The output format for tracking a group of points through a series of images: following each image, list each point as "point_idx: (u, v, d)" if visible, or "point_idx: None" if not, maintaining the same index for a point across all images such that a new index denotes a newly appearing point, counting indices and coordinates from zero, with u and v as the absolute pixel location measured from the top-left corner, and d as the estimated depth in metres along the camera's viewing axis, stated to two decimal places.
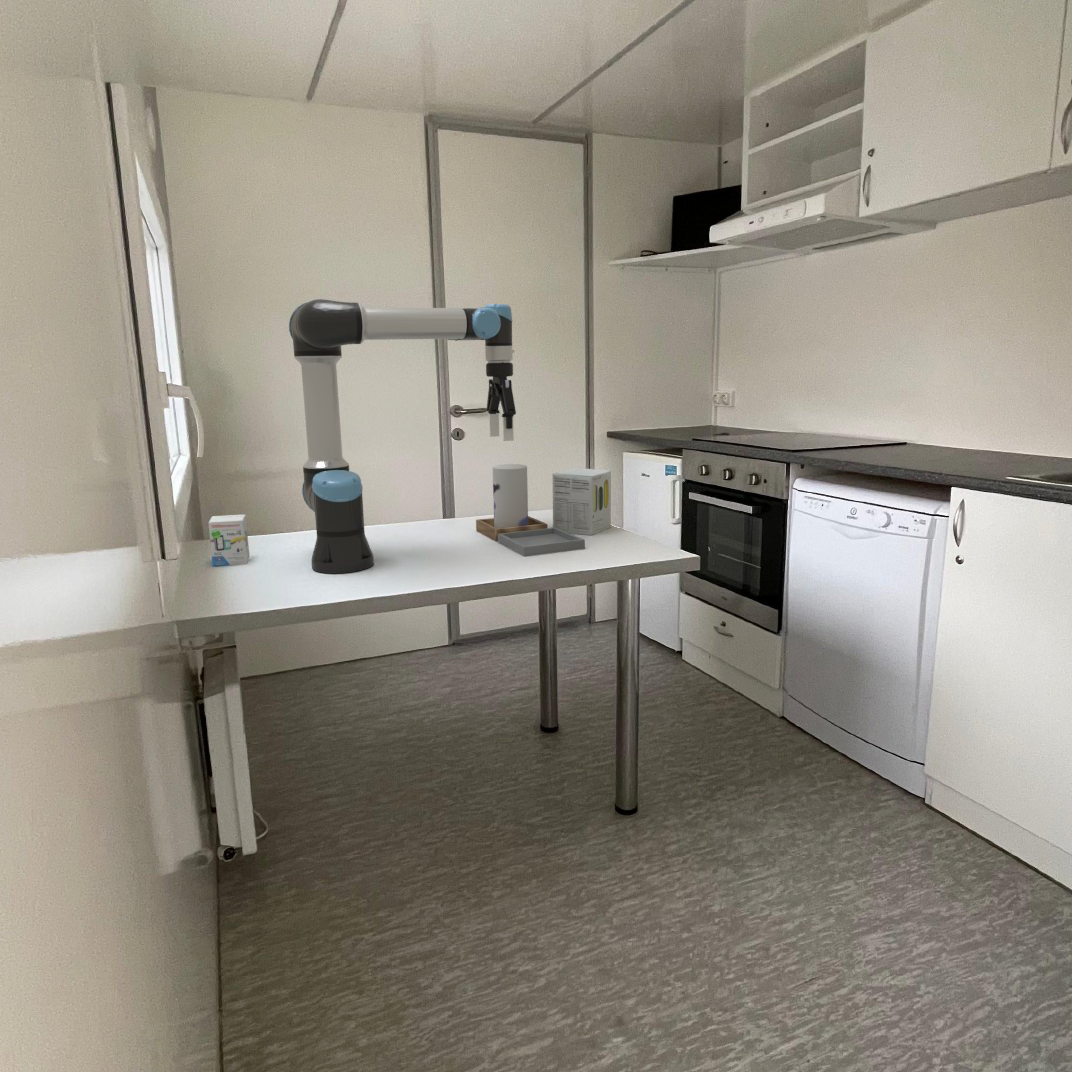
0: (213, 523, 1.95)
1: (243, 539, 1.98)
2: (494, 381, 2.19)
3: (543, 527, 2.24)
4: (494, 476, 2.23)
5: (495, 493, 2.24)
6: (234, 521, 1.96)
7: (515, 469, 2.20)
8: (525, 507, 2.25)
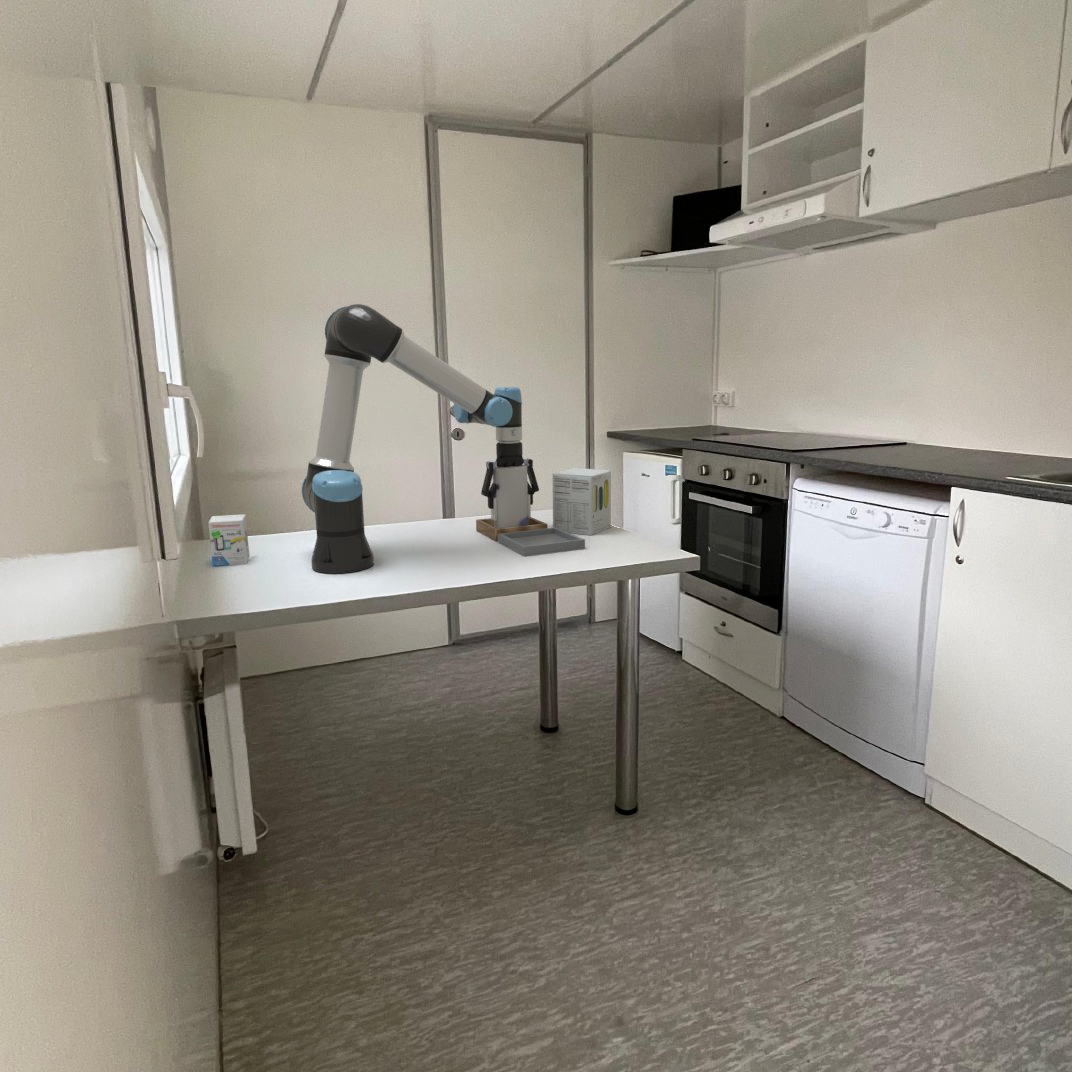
0: (213, 523, 1.95)
1: (243, 539, 1.98)
2: None
3: (543, 527, 2.24)
4: (494, 476, 2.23)
5: (495, 493, 2.24)
6: (234, 521, 1.96)
7: (515, 469, 2.20)
8: (525, 507, 2.25)
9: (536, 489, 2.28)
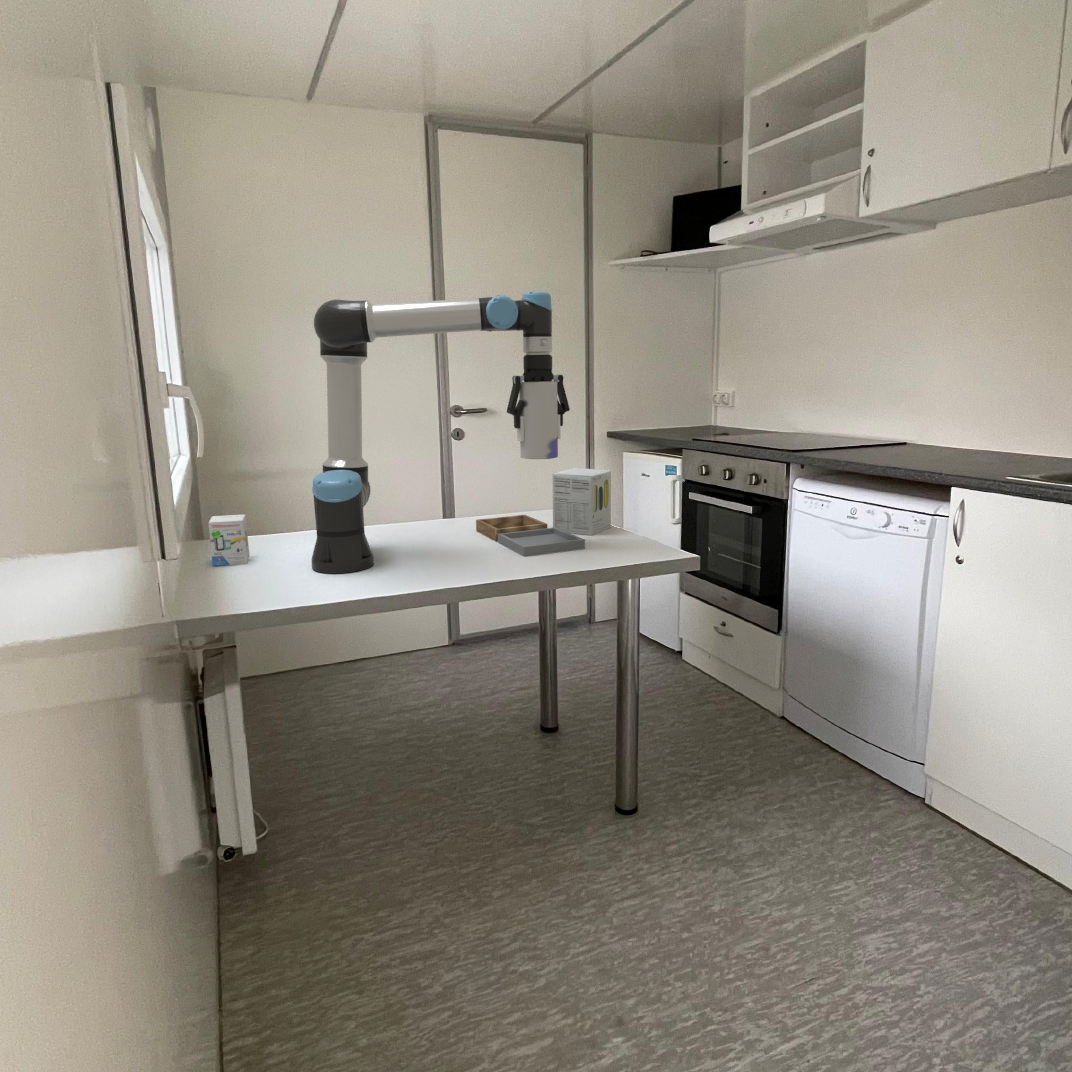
0: (213, 523, 1.95)
1: (243, 539, 1.98)
2: None
3: (543, 527, 2.24)
4: (521, 392, 2.02)
5: (522, 411, 2.03)
6: (234, 521, 1.96)
7: (545, 383, 1.99)
8: (555, 427, 2.04)
9: (566, 408, 2.08)
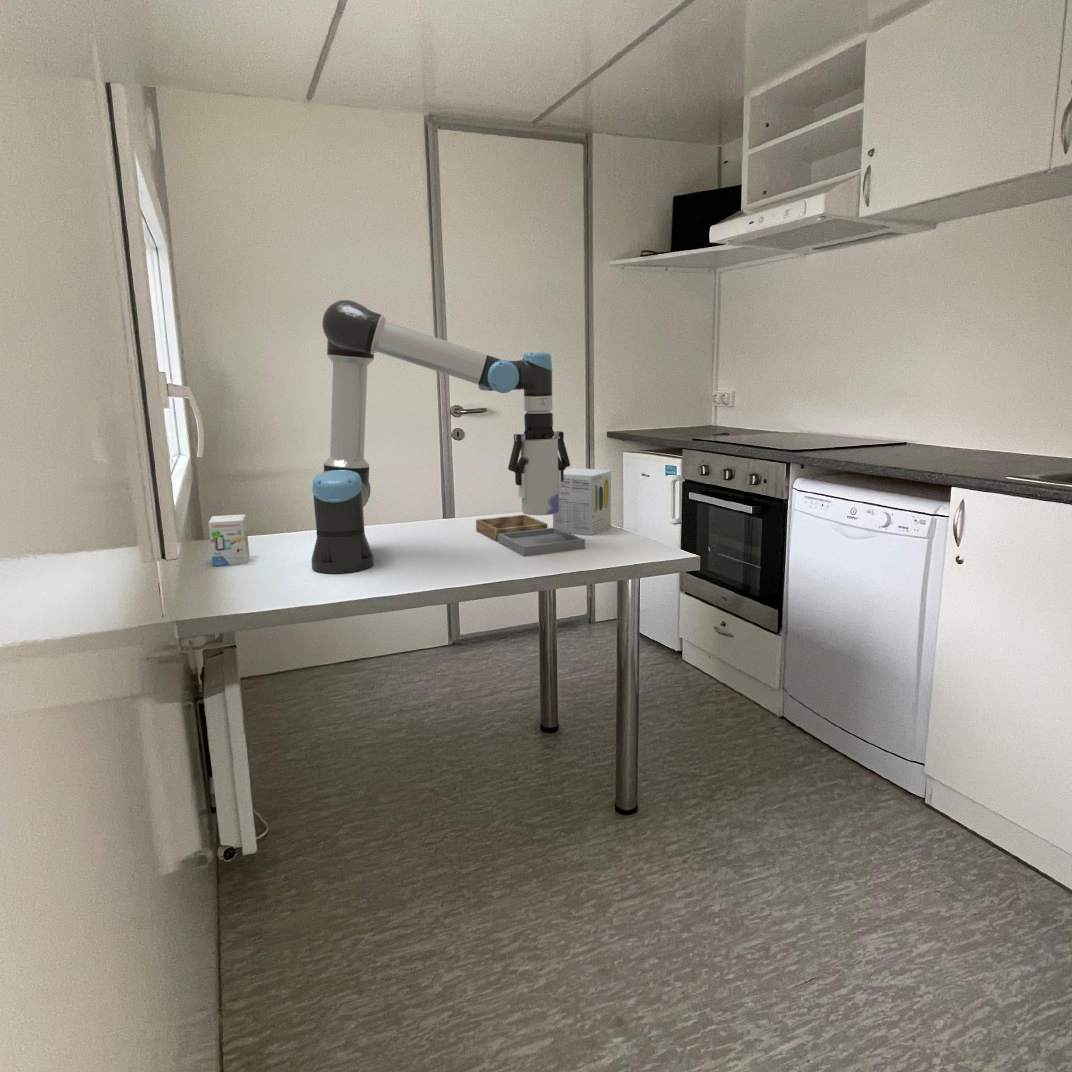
0: (213, 523, 1.95)
1: (243, 539, 1.98)
2: None
3: (543, 527, 2.24)
4: (522, 449, 2.05)
5: None
6: (234, 521, 1.96)
7: (545, 441, 2.03)
8: (556, 483, 2.07)
9: (567, 464, 2.11)
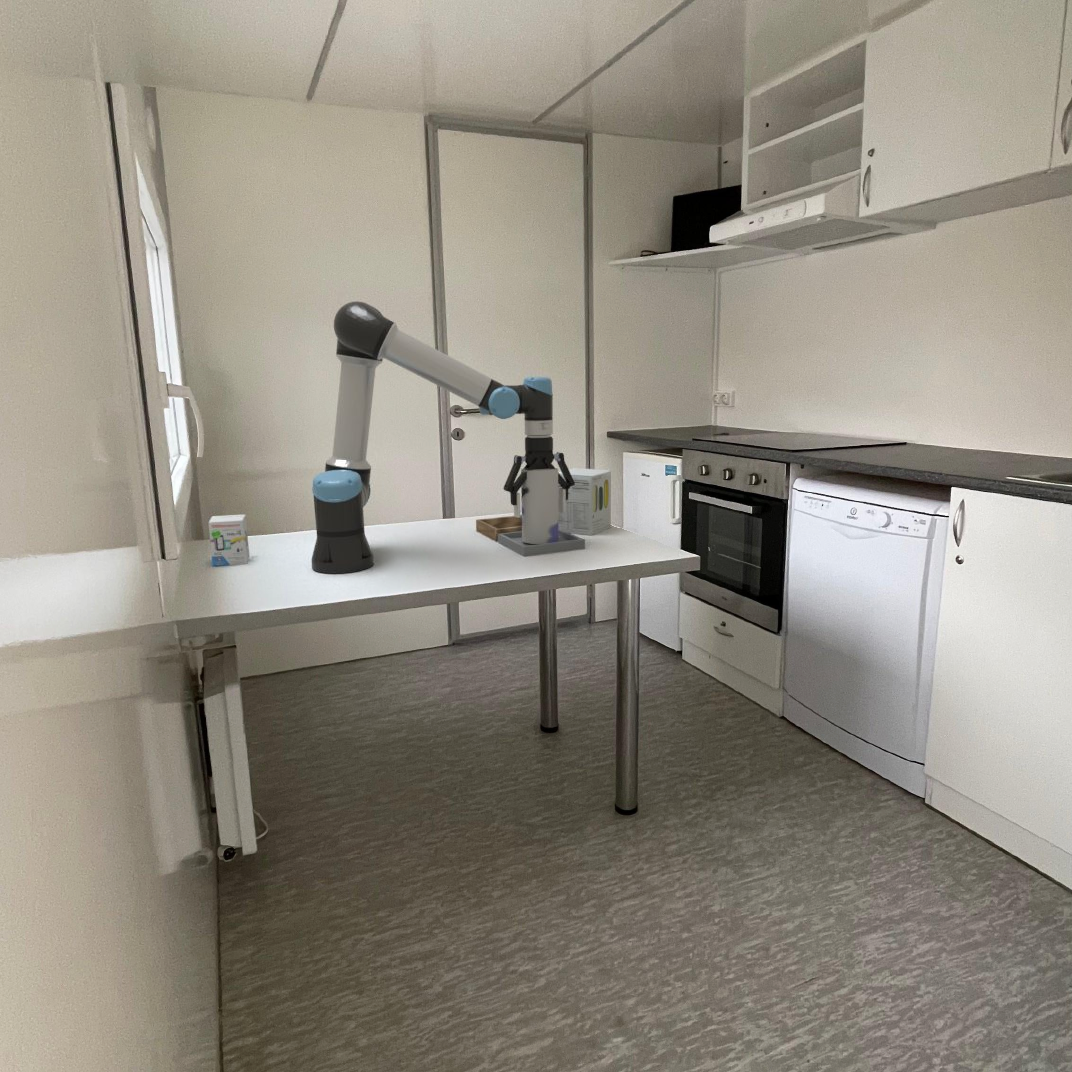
0: (213, 523, 1.95)
1: (243, 539, 1.98)
2: None
3: None
4: None
5: (524, 497, 2.08)
6: (234, 521, 1.96)
7: (546, 471, 2.05)
8: (556, 512, 2.09)
9: (572, 483, 2.13)
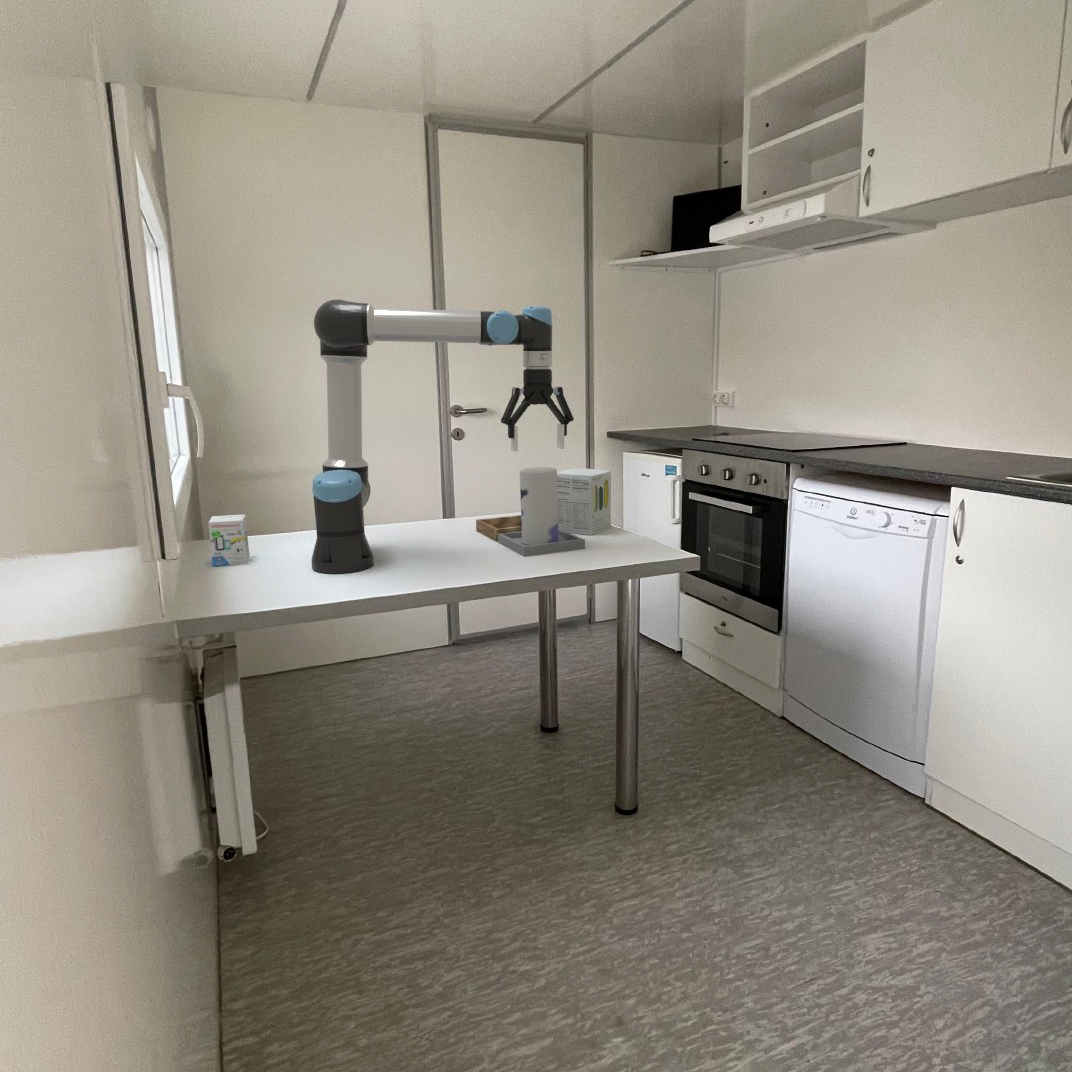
0: (213, 523, 1.95)
1: (243, 539, 1.98)
2: None
3: None
4: (521, 481, 2.07)
5: (523, 499, 2.08)
6: (234, 521, 1.96)
7: (544, 473, 2.04)
8: (555, 513, 2.09)
9: (570, 419, 2.09)
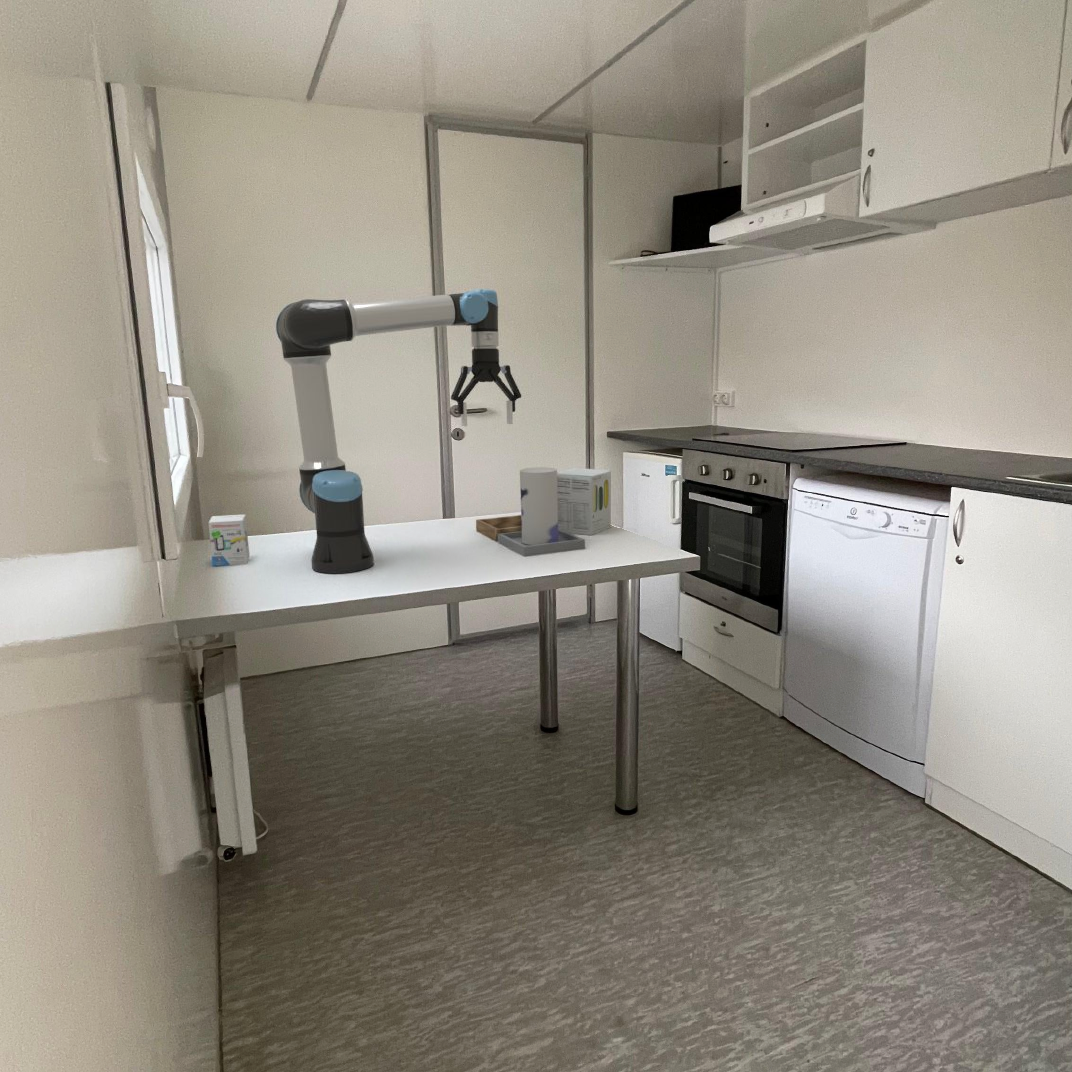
0: (213, 523, 1.95)
1: (243, 539, 1.98)
2: None
3: None
4: (522, 480, 2.07)
5: (523, 499, 2.08)
6: (234, 521, 1.96)
7: (544, 473, 2.05)
8: (555, 513, 2.09)
9: (518, 395, 2.21)
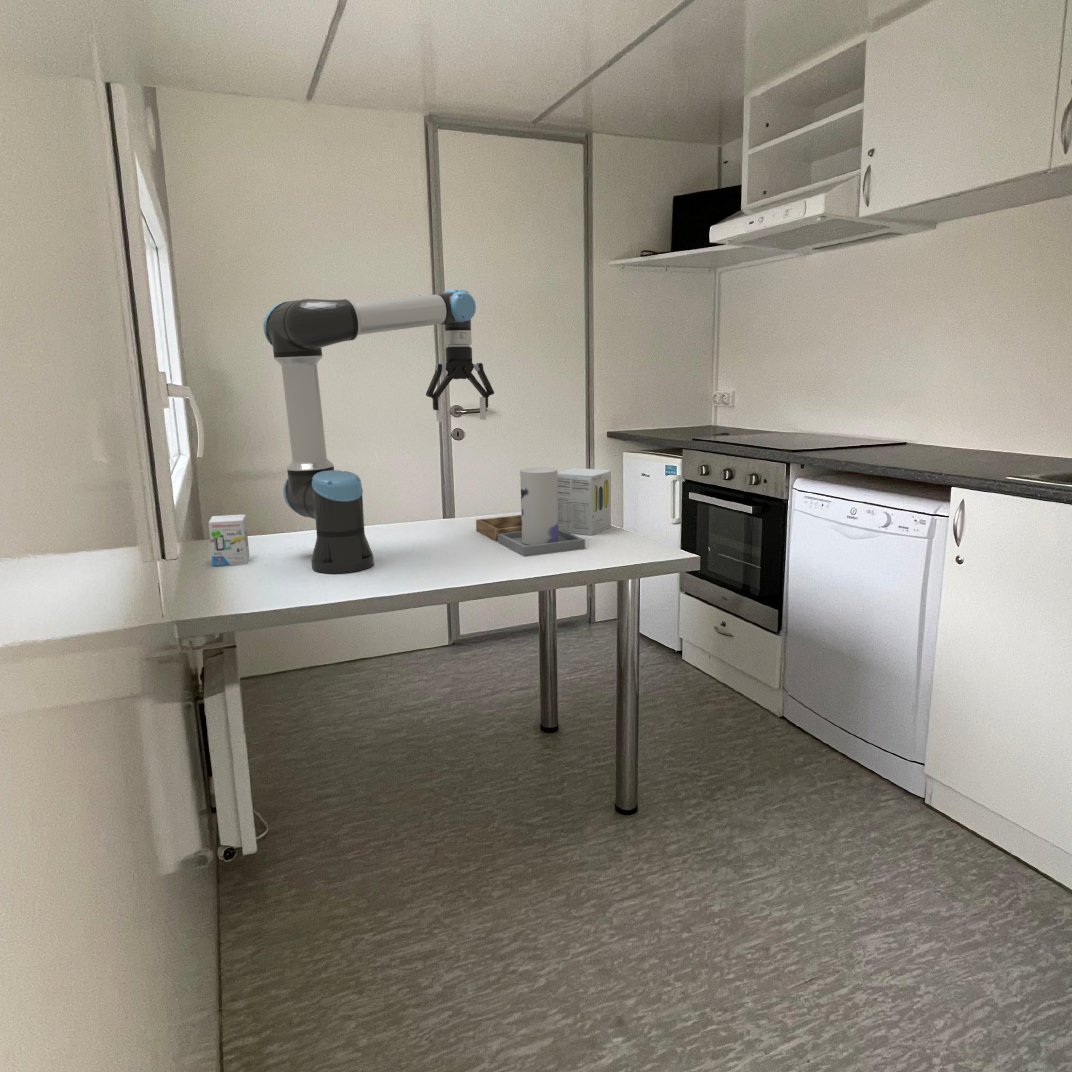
0: (213, 523, 1.95)
1: (243, 539, 1.98)
2: None
3: None
4: (522, 480, 2.07)
5: (523, 499, 2.08)
6: (234, 521, 1.96)
7: (545, 473, 2.05)
8: (555, 514, 2.09)
9: (491, 392, 2.29)
